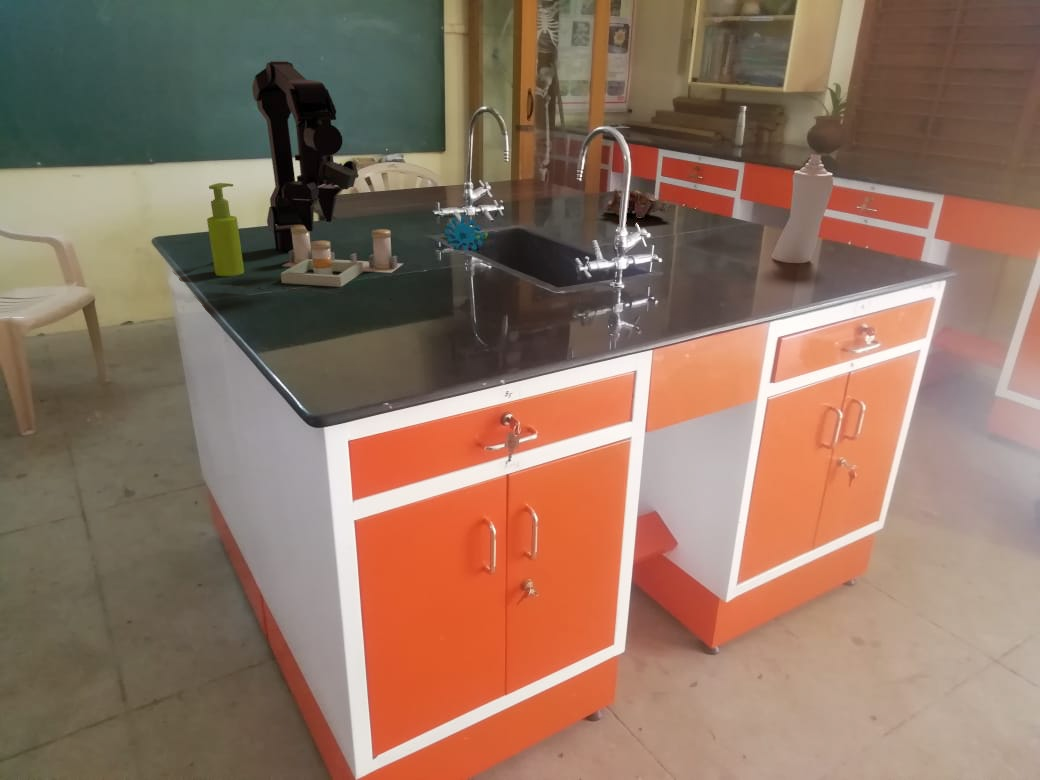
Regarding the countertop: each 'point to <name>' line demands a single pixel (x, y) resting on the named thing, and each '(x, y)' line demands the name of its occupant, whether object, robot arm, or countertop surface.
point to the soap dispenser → (224, 236)
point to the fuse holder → (366, 265)
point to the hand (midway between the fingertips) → (319, 226)
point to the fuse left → (300, 243)
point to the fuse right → (382, 249)
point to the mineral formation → (638, 203)
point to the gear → (465, 234)
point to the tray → (321, 275)
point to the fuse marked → (321, 257)
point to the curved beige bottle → (805, 212)
